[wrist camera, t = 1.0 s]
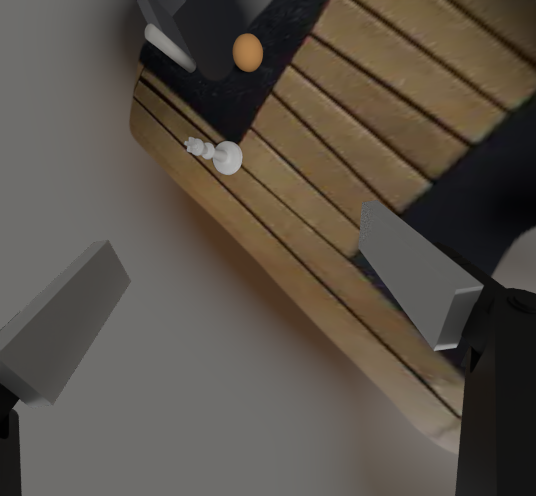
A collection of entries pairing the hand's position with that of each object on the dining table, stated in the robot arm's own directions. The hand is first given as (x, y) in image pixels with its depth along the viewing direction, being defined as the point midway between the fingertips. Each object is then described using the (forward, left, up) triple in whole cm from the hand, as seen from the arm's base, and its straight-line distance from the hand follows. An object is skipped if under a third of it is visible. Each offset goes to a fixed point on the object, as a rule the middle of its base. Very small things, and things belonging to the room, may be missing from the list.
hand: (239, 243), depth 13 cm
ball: (-8, -23, -22) cm, 32 cm away
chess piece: (+4, -16, -24) cm, 29 cm away
